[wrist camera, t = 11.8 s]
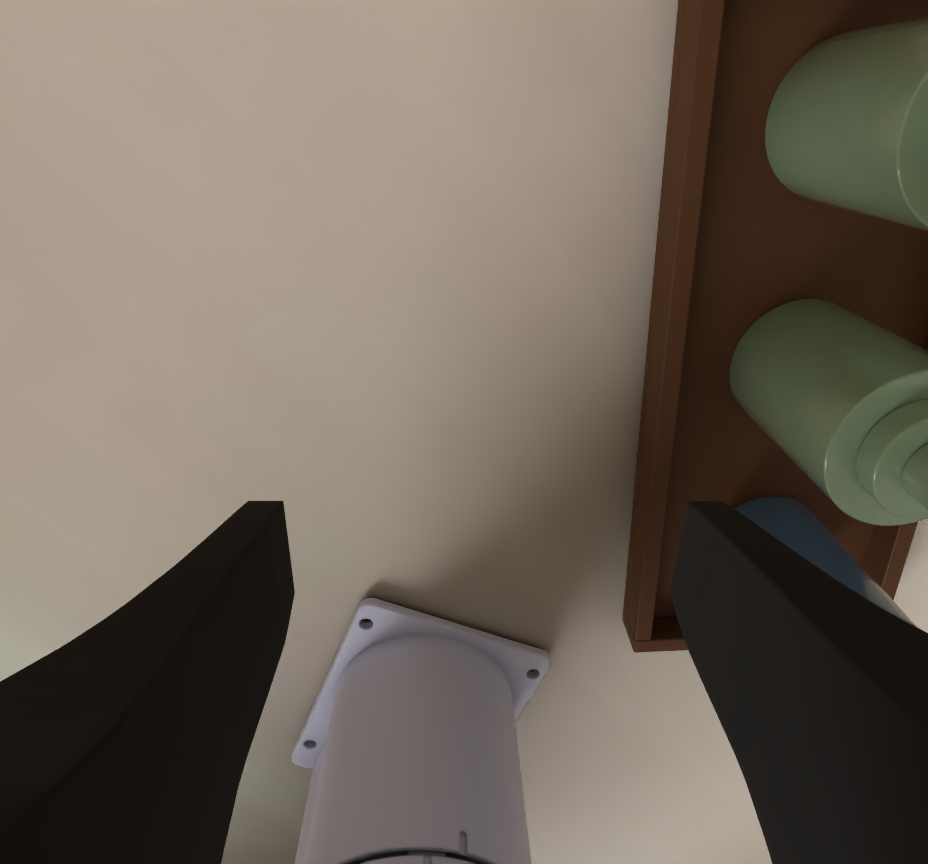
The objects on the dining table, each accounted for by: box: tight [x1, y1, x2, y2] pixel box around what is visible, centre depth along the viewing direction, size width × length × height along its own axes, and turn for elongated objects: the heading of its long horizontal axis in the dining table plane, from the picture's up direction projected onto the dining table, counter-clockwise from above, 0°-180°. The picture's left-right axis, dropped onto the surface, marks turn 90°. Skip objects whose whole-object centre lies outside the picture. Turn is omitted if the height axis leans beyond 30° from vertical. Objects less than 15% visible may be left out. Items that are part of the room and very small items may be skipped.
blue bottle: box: [734, 496, 917, 627], centre depth 20 cm, size 4×4×9 cm
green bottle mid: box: [729, 299, 928, 526], centre depth 17 cm, size 4×4×9 cm
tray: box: [623, 0, 928, 652], centre depth 21 cm, size 21×9×2 cm, turn 2°
